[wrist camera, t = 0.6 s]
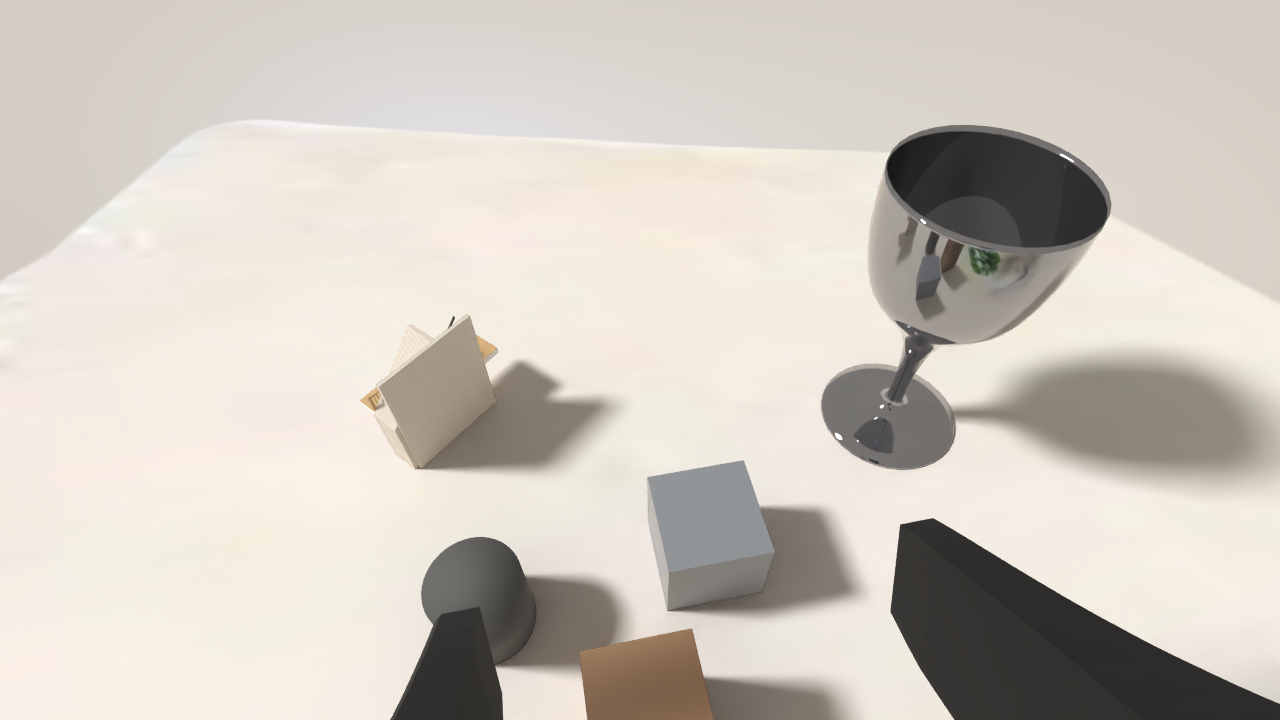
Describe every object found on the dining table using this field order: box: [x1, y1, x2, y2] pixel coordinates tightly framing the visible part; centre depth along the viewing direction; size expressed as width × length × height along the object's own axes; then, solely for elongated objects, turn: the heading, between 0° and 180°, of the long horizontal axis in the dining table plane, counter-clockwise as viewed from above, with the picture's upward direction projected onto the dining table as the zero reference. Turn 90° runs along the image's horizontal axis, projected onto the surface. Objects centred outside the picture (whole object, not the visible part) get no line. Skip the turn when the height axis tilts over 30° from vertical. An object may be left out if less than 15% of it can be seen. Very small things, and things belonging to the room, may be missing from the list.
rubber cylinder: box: [421, 537, 536, 664], centre depth 28 cm, size 4×4×4 cm
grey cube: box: [647, 460, 775, 611], centre depth 29 cm, size 4×4×4 cm
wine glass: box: [821, 125, 1111, 469], centre depth 30 cm, size 8×8×15 cm
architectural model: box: [360, 314, 498, 469], centre depth 34 cm, size 3×7×7 cm, turn 143°
